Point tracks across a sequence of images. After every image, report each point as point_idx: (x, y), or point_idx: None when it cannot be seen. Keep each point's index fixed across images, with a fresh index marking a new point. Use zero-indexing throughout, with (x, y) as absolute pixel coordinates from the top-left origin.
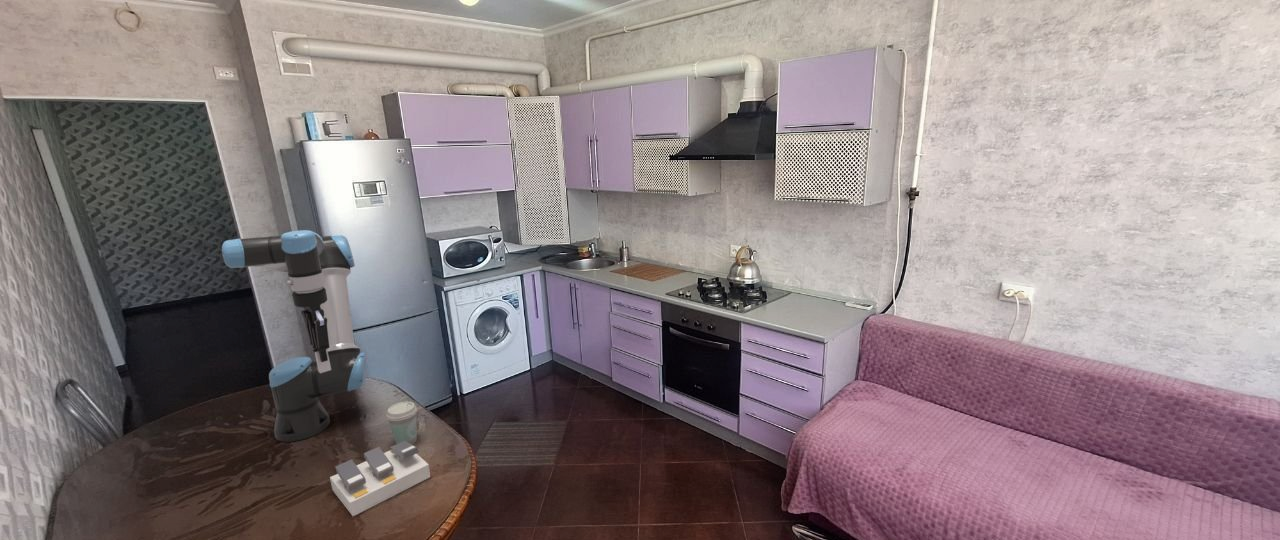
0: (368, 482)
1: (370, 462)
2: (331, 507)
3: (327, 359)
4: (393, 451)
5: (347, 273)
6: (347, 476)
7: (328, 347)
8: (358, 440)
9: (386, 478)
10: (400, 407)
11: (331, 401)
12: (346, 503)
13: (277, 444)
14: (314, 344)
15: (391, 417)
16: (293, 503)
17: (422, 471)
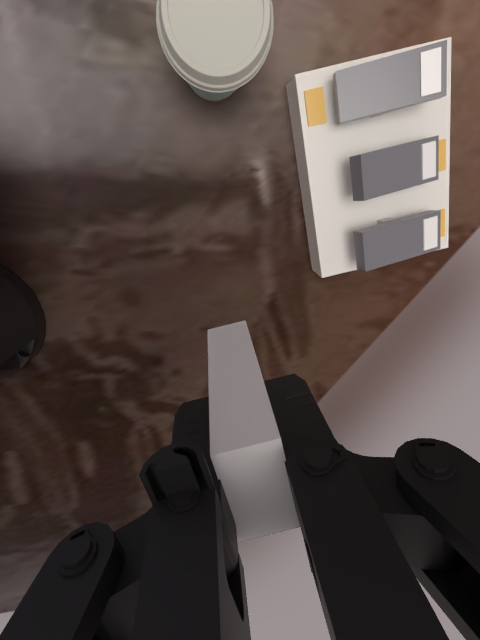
0: (406, 203)
1: (399, 189)
2: (368, 274)
3: (300, 379)
4: (359, 118)
5: None
6: (412, 248)
7: (457, 457)
8: (122, 195)
9: None
10: (207, 14)
11: None
12: None
13: (39, 366)
14: (244, 608)
15: (248, 74)
16: (305, 333)
17: None
